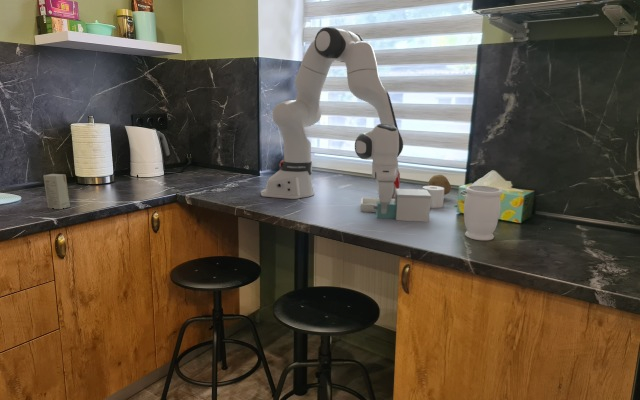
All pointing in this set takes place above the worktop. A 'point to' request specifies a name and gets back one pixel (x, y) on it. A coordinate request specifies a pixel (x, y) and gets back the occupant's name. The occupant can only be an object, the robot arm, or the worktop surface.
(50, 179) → the skincare box
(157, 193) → the worktop surface
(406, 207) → the white box
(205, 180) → the worktop surface
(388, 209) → the teal block
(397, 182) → the soda can
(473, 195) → the jar
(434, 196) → the toilet paper
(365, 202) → the tray
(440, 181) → the natural sponge
